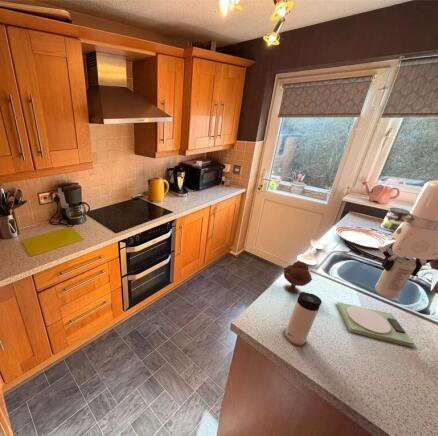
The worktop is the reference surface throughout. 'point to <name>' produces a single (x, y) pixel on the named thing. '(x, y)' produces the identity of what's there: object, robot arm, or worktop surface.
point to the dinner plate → (360, 236)
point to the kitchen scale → (374, 324)
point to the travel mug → (302, 318)
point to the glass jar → (394, 218)
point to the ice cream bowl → (297, 276)
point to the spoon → (311, 254)
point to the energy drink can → (395, 277)
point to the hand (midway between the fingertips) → (398, 270)
